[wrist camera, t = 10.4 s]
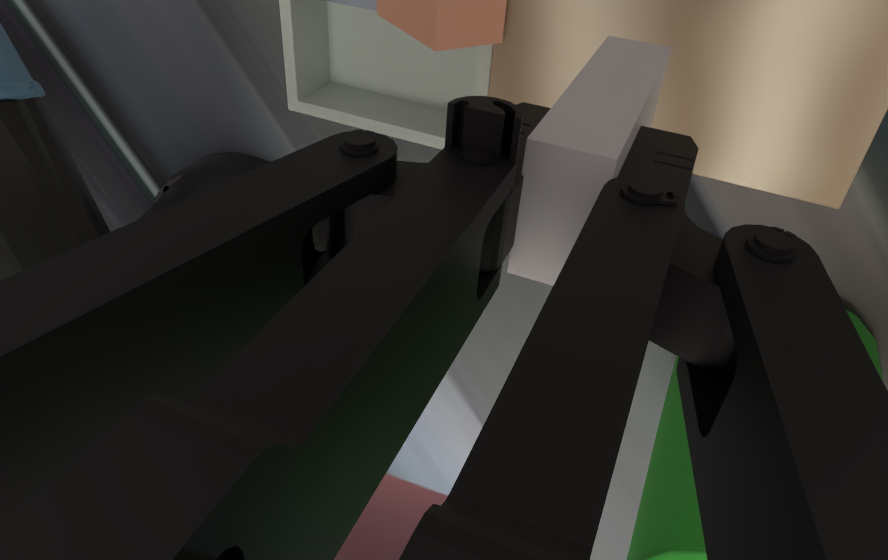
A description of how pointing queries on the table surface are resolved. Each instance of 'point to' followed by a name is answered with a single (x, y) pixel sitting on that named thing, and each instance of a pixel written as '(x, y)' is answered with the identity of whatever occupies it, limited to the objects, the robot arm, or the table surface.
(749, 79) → the bench plate
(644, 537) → the bottle
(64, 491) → the robot arm
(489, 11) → the tile terracotta
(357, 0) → the tile slate
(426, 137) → the box
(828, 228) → the table surface
